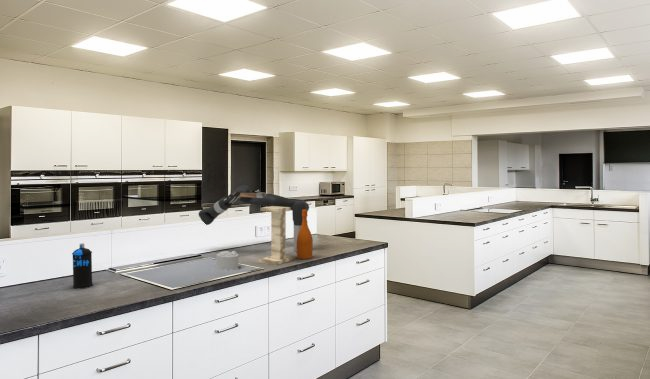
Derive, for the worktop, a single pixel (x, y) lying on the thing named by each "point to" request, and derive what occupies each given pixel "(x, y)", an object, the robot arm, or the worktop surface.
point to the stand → (277, 236)
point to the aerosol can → (82, 267)
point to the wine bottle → (304, 239)
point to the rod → (253, 195)
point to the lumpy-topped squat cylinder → (227, 260)
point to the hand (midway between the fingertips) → (241, 192)
